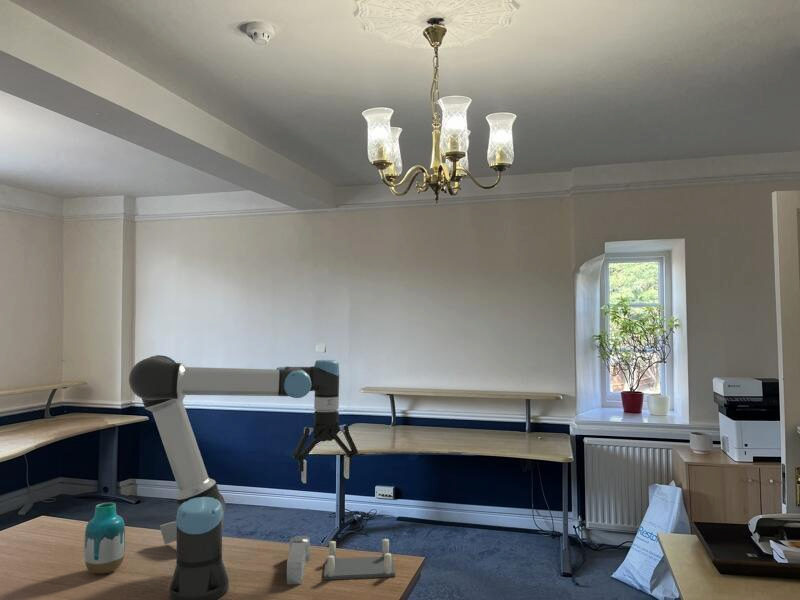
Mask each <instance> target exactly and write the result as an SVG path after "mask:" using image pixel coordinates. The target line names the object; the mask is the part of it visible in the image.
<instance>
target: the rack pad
mask: <svg viewBox="0 0 800 600" xmlns="http://www.w3.org/2000/svg"><path fill="white" fill-rule="evenodd" d="M381 546H382V547H381V549H382V551H381V553H382V555H381V556H362V557H361V556H360V557H338V558H337V557H336V556H337V552H336V551H337V541H334V540H330V541H329V542H328V556H327V558H325V564H324V570H323V580H325V581H327V580H348V579H349V580H351V579H371V578H372V577H374V578H389V577H390V578H393V577H394V578H395V577H396V570H395V565H394V558H393V556H392V554H391V553H390V539H388V538H384V539H382V541H381Z"/></svg>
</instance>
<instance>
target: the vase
mask: <svg viewBox="0 0 800 600" xmlns="http://www.w3.org/2000/svg"><path fill="white" fill-rule="evenodd" d="M125 527H126V525H125V521H124V518H123V517H122V516H121V515H119V514H117V505H116V503H115V502H110V501H109V502H103V503H99V504H96V505H95V507H94V516H93V517H92V519H90V520H89V521H88V522H87V524H86V526H85V531H84V547H83V548H84V562H85V567H86V569H87V570H88V571H89V572H90V573H91V574H95V575H96V574H97V575H103V574H108V573H111V572H113V571H115V570H117V569H118V568H120V566H121V565H122V563H123V561H124V558H125V551H126V528H125Z"/></svg>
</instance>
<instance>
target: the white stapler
mask: <svg viewBox="0 0 800 600" xmlns="http://www.w3.org/2000/svg"><path fill="white" fill-rule="evenodd" d="M159 528H160V532H161V535H162V539H163V542H164V545H167V544H171V543H174V542H175V541H176V542H177V524H176V520H174V521H170V522H166V523H164V524H161V525H159Z"/></svg>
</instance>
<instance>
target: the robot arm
mask: <svg viewBox="0 0 800 600" xmlns="http://www.w3.org/2000/svg"><path fill="white" fill-rule="evenodd" d="M339 363H340V362H338V361H337V360H336V359H335V360H334V359H317V360H315V362H314V366H279V367H276V369H271V368H270V369H269V368H239V367H238V368H237V367H236V368H235V367H234V368H233V367H197V366H196V367H195V366H191V367H190V366H186V365H185V364H183V363H182V362H176V361H175V360H174V359H172V357H169V356H166V355H162V354H161V355H159V354H156V355H153V356H149V357H147V358H144V359H142V360H139V361H138V362H137V363H136V364H135V365H134V366H132V368H131V371H130V372H129V376H128V383H129V384H128V385H129V388H130V389H131V392H133V394H134V395H136V396H137V397H138V398H141V401H142V404H143V407H144V409H145V410H147V411H149V412H151V413H152V415H153V418H154V420H155V423H156V427H157V430H158V432H159V436H160V438H161V441H162V445H163V447H164V451H165V453H166V456H167V459H168V462H169V465H170V467H171V470H172V474H173V476H174V480H175V482H176V485H177V489H178V491H177V493H176V495H175V501H176V503H177V507H178V508H177V512H176V517H175V521H176V524H177V540H176V562H175V563H176V565H175V569H174V570H173V571H174V572H173V576H172V578H171V581H170V583H169V588H168V597H169V600H217V599H219V598H221V597H222V596H224V595H225V594H226V593H227V592H228V591H229V588H230V587H229V585H230V584H229V582H230V580H229V576H228V573H227V570H226V567H225V563H224V561H223V526H224V519H225V517H226V511H227V509H226V508H227V505H226V500H225V498H224V497H223V495H222V494H221V492H220V490H219V487H218V485H217V482H216V480H215V479H213V478H210V477H209V475H208V472H207V469H206V466H205V464H204V460H203V457H202V454H201V451H200V449H199V446H198V443H197V440H196V439H197V438H196V436H195V434H194V431H193V428H192V425H191V422H190V420H189V416H188V413H187V410H186V407H185V404H184V399H185V397H186V396H232V397H233V396H234V397H235V396H236V397H237V396H242V397H243V396H248V397H251V396H252V397H290V398H293V399H300V398H304V397H306V396H307V395H308V394H309V393H310V392H314V401H313V403H314V404H313V406H314V407H313V408H314V410H315V411H314V412H313V426H312V427H307V426H304V427H303V430H302V431H303V432H302V435H301V437H300V438H299V441H298V443H297V446H296V447H295V449H294V451H293V453H292V458H293V459H294V460H297V461H298V465H297V466H298V467H297V468H298V472H300V473H301V479H300V480H301V482H302V483H303V484H307V460H306V458H307V457H308V456H309V454H310V453H311V452H312V451H313V449H314V448H315V447H316V445H317V444H319V442H323V443H324V442H332V441H333V440H334V441H335V443H336V444H337V445H338V446H339V447H340V449H342V451H343V452H344V453H345V455H344V456H343V477H344V478H345V479H347V480H348V479H349V478H350V468H352V466H353V457H354V455H358V454H359V450H358V448H357V447H356V444H355V442H354V440H353V438H352V436H351V433H350V430H349V425H347V424H345V423H343V424H342V425H339V418H340V416H339V415H340V412H339V411H338V410H339V405H340V404H339V403H340V402H339V400H340V398H339V397H340V364H339ZM339 432H341V433H342V434H343V436H344V438H345V441H346V442H347V445H348V446H349V448H348V447H347V445H345V443H344V442H343V441H342V439H341V438H340V437H339V435H338V434H339ZM312 433H313V434H314V435H313V437H311V440H310V442H309V443H308V444H307V445H306V443H307V441H308V439H309V436H310V435H311V434H312ZM305 445H306V446H305Z"/></svg>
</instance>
